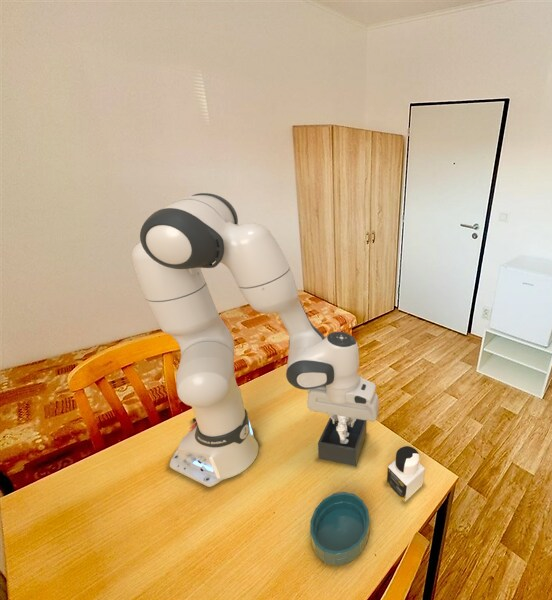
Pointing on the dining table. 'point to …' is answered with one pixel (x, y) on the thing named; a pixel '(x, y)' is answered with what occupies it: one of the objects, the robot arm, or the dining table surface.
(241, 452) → the robot arm
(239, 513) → the dining table surface
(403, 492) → the medicine bottle
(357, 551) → the bowl
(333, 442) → the bin
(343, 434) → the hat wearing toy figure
